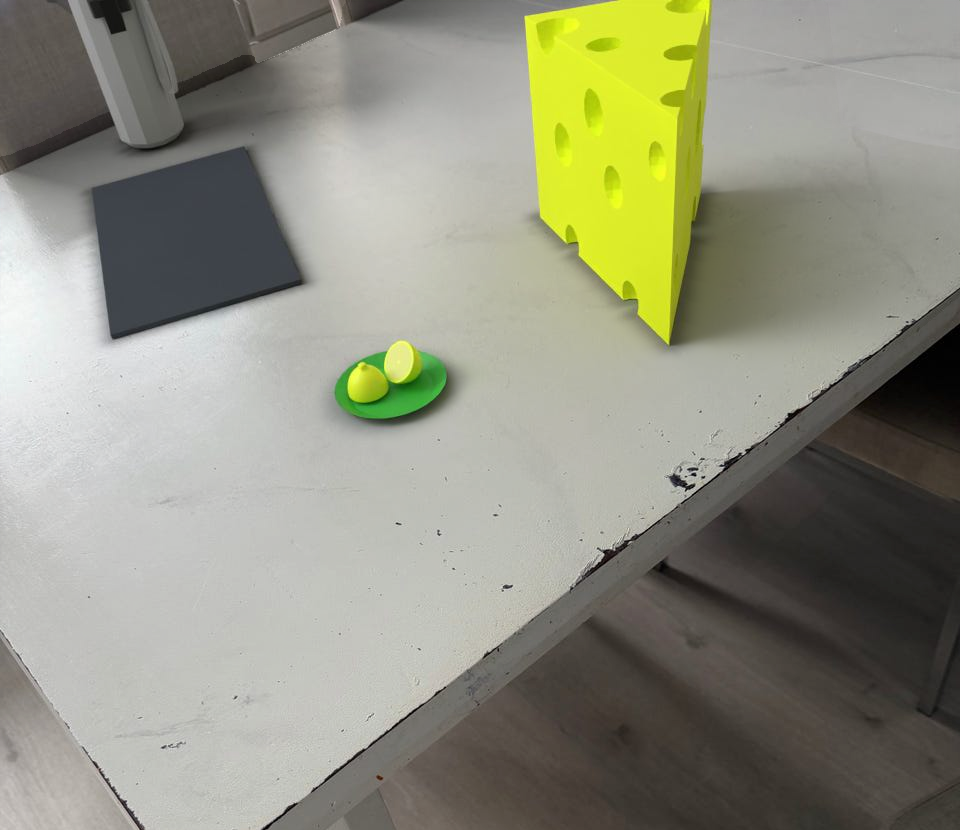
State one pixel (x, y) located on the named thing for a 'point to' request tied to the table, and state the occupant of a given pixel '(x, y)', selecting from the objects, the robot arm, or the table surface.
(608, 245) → the cheese wedge
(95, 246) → the table surface
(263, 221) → the slate mat
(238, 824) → the table surface
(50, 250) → the table surface
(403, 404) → the lemon
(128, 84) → the water bottle
